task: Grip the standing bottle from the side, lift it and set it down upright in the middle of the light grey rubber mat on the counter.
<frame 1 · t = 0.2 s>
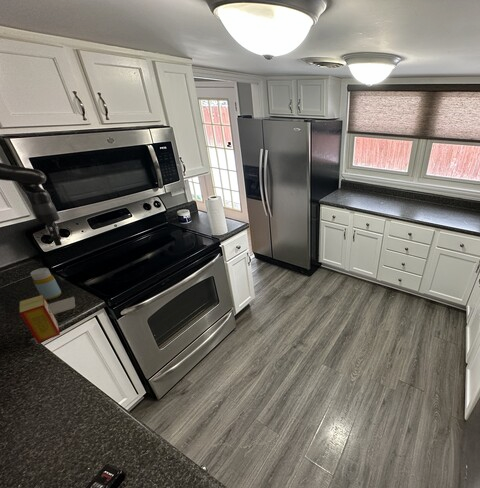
hand: (58, 242, 132), 25 cm above the worktop, tool pointing down, fingers open, 8 cm apart
mat: (58, 307, 125), on the worktop
bottle: (52, 296, 133), on the worktop
baking soda box: (48, 332, 111), on the worktop
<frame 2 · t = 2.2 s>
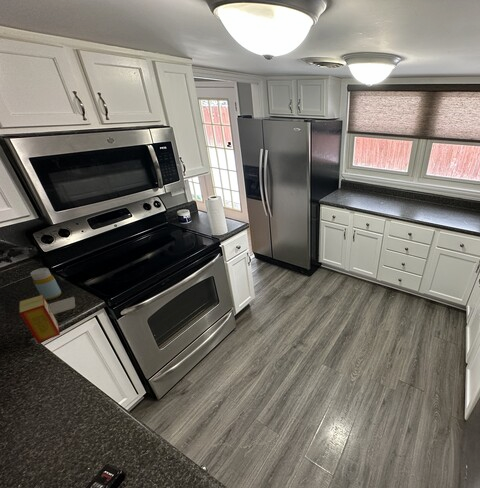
hand: (23, 256, 127), 20 cm above the worktop, tool horizontal, fingers open, 8 cm apart
nothing on the worktop moved.
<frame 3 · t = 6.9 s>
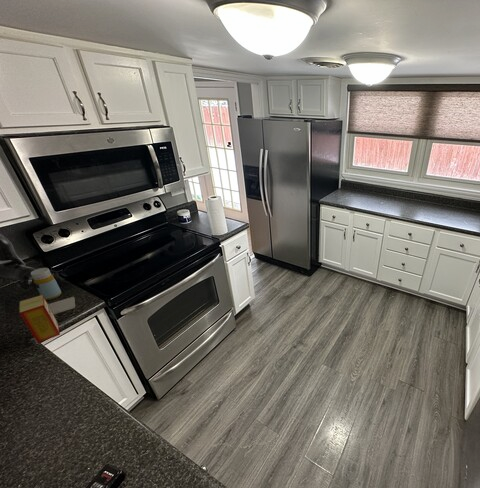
hand: (47, 282, 128), 9 cm above the worktop, tool horizontal, fingers closed on bottle, 7 cm apart
bottle: (52, 296, 133), on the worktop, touching gripper
everything else where it was.
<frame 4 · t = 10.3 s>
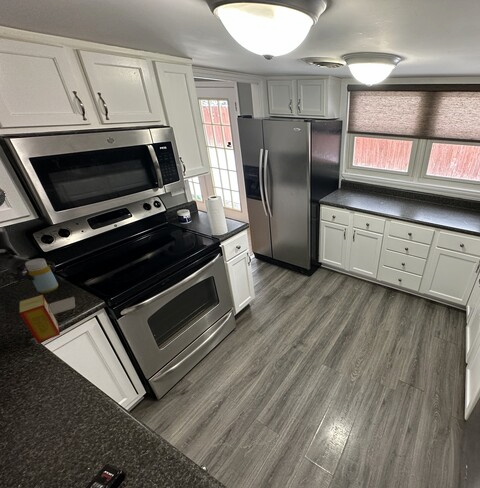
hand: (43, 274, 119), 18 cm above the worktop, tool horizontal, fingers closed on bottle, 7 cm apart
bottle: (49, 289, 124), point 9 cm above the worktop, touching gripper
everything else where it was.
when the fingers open (9 cm above the worktop, at t = 13.8 s): bottle stays where it is, resting on mat.
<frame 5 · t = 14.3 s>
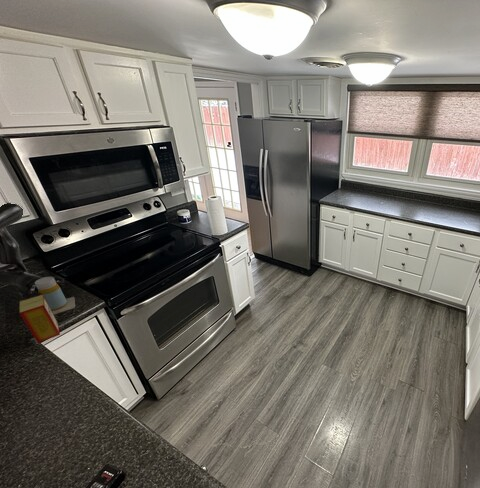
hand: (51, 290, 120), 10 cm above the worktop, tool horizontal, fingers open, 8 cm apart
bottle: (58, 306, 125), resting on mat
everything else where it was.
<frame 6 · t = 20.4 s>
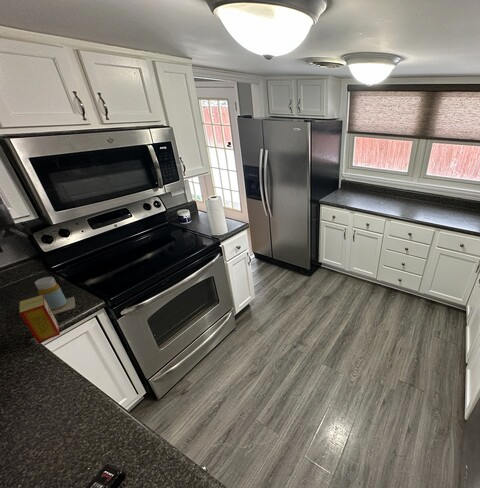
hand: (14, 248, 119), 28 cm above the worktop, tool pointing down, fingers open, 8 cm apart
nothing on the worktop moved.
at the end: bottle 0.1 cm off-centre on the mat, point 0.3 cm above the mat's base; bottle tilted 0°; the gripper is holding nothing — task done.
